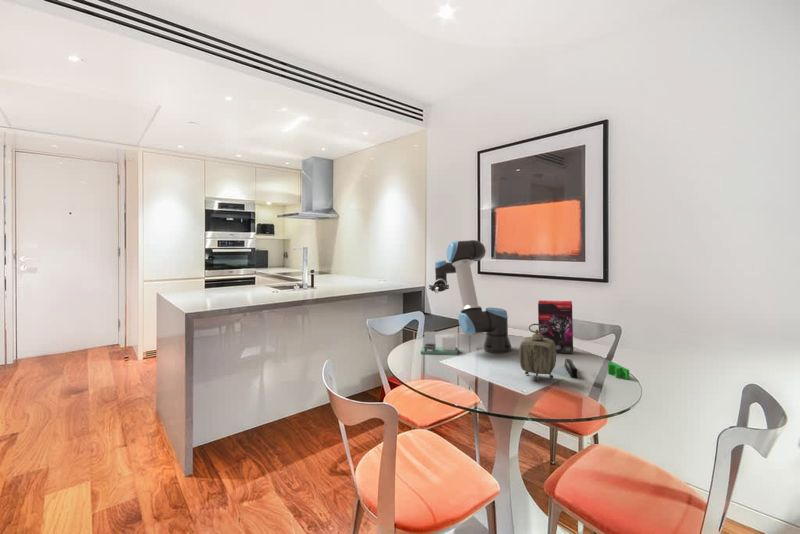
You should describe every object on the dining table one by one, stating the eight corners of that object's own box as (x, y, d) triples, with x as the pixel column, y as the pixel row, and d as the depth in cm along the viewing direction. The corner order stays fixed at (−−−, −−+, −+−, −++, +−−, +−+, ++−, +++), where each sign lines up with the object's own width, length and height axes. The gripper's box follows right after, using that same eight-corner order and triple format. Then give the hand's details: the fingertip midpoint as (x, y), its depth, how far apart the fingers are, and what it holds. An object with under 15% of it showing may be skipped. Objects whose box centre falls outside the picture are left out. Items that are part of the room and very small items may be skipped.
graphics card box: (538, 352, 204) (537, 302, 202) (539, 348, 211) (538, 299, 208) (573, 354, 198) (573, 303, 195) (572, 350, 204) (572, 300, 202)
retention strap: (435, 349, 213) (435, 331, 212) (435, 351, 209) (434, 333, 208) (425, 348, 214) (424, 331, 213) (424, 351, 210) (423, 333, 209)
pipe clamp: (603, 371, 173) (603, 362, 173) (610, 371, 174) (610, 361, 174) (621, 380, 162) (621, 370, 162) (629, 379, 163) (629, 369, 163)
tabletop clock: (556, 377, 169) (556, 322, 166) (553, 385, 161) (552, 327, 159) (523, 373, 176) (522, 320, 174) (518, 380, 168) (517, 324, 166)
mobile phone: (578, 368, 166) (568, 356, 181) (571, 368, 167) (562, 356, 182) (578, 379, 167) (568, 366, 182) (571, 379, 167) (562, 366, 182)
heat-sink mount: (457, 349, 215) (457, 334, 214) (457, 354, 207) (456, 338, 206) (422, 349, 219) (422, 334, 218) (420, 353, 211) (420, 338, 210)
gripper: (450, 290, 248) (447, 297, 225) (430, 291, 251) (425, 297, 228) (449, 279, 248) (447, 284, 225) (429, 279, 250) (425, 285, 227)
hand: (436, 290), depth 226 cm, fingers closed
